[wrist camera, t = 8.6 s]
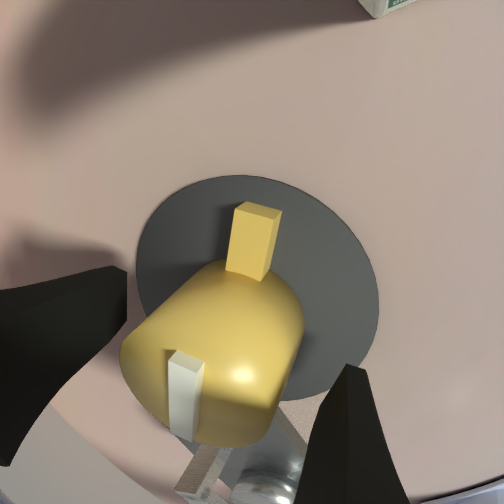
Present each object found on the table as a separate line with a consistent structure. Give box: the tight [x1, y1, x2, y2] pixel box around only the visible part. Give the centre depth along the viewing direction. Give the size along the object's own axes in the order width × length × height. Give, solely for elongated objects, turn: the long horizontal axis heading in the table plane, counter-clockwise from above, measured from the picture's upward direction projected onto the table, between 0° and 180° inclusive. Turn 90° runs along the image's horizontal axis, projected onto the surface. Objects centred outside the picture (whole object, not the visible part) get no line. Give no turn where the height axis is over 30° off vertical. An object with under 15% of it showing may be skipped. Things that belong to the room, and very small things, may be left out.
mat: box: [136, 175, 379, 401], centre depth 11 cm, size 9×9×1 cm
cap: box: [119, 201, 305, 448], centre depth 9 cm, size 8×4×4 cm, turn 170°
